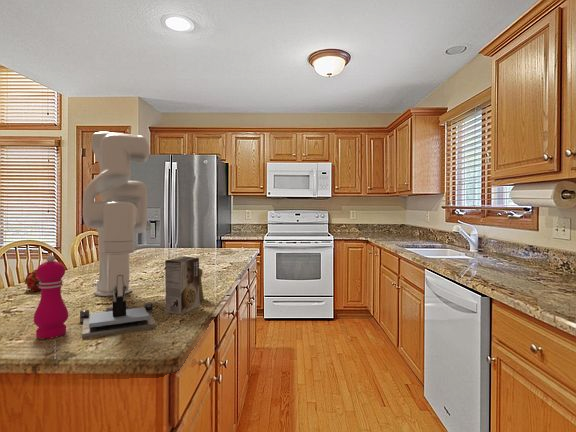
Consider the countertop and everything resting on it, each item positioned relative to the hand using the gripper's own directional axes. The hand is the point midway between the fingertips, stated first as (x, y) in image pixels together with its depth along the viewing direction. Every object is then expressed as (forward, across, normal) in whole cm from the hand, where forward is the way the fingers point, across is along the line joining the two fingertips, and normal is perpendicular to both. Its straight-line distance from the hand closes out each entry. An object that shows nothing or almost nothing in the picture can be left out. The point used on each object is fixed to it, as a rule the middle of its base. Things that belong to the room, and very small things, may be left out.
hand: (119, 315), depth 94 cm
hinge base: (+3, -2, 0) cm, 4 cm away
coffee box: (+3, -8, +18) cm, 20 cm away
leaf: (+2, -3, 0) cm, 3 cm away
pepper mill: (+3, -1, -15) cm, 16 cm away
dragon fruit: (+2, -62, -26) cm, 67 cm away
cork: (+3, -19, +25) cm, 31 cm away
